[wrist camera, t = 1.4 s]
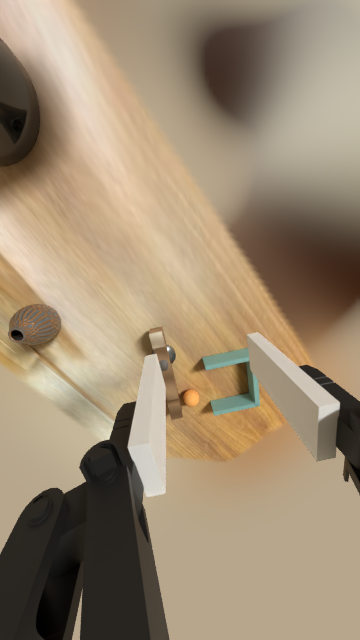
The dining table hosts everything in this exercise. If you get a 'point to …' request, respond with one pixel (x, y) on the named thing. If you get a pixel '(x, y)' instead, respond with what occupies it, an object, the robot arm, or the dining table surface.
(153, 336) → the lever
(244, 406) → the teal arch
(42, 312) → the vase
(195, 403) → the ball
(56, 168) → the dining table surface
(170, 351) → the pivot base
